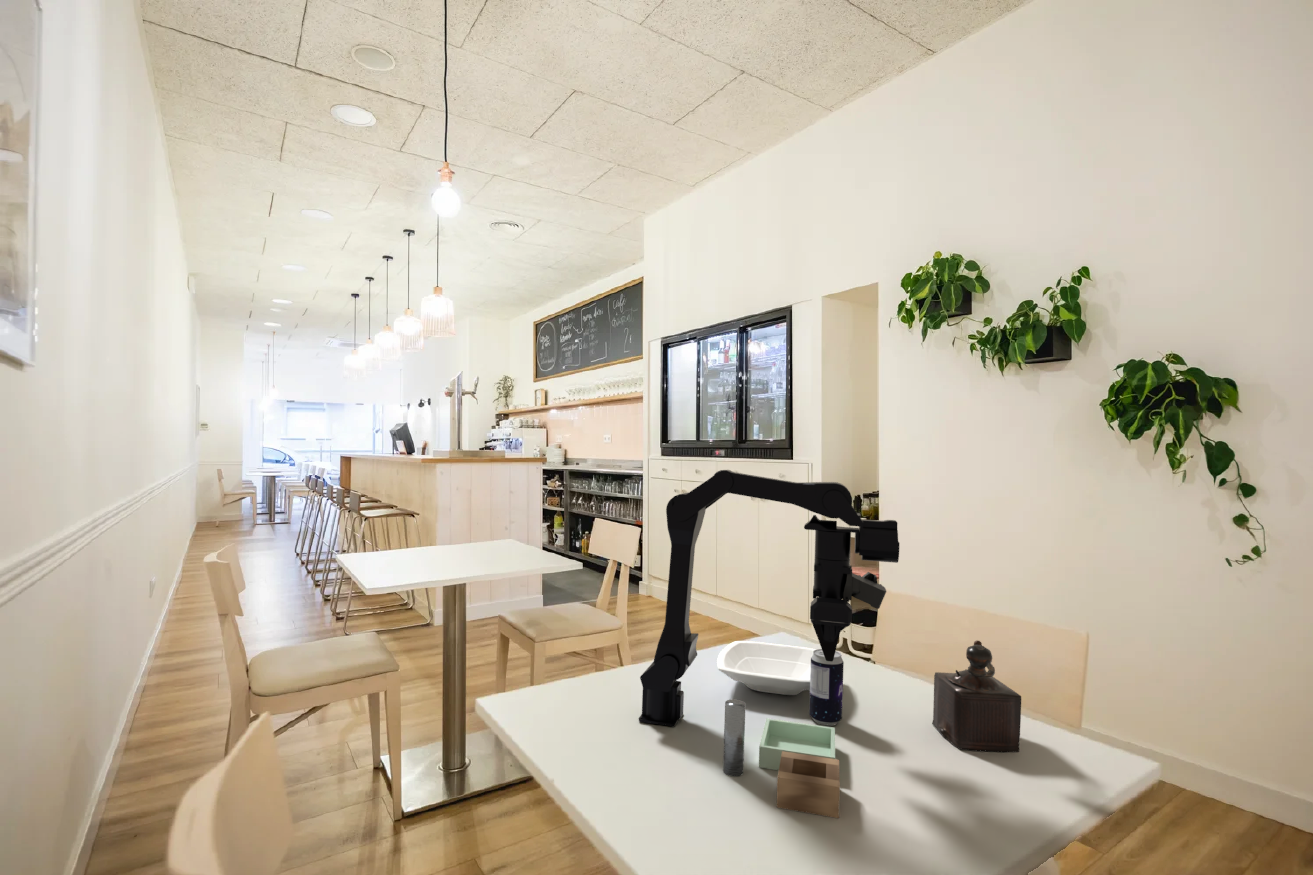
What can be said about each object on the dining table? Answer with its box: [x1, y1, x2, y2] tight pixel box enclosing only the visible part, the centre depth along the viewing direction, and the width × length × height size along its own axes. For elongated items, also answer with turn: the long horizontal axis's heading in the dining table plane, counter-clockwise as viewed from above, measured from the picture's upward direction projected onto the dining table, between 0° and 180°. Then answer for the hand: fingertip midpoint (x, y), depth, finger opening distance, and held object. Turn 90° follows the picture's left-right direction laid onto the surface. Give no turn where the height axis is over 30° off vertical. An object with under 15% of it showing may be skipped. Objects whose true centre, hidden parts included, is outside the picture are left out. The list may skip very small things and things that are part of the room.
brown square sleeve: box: [776, 751, 841, 819], centre depth 90 cm, size 8×8×4 cm
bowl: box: [716, 640, 817, 696], centre depth 132 cm, size 22×23×6 cm
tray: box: [758, 717, 836, 771], centre depth 102 cm, size 11×11×3 cm
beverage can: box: [808, 648, 845, 727], centre depth 116 cm, size 6×6×12 cm
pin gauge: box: [722, 698, 747, 777], centre depth 97 cm, size 3×3×10 cm
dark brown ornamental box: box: [931, 640, 1022, 753], centre depth 109 cm, size 16×11×18 cm
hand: (829, 652), depth 108 cm, fingers open, 9 cm apart
